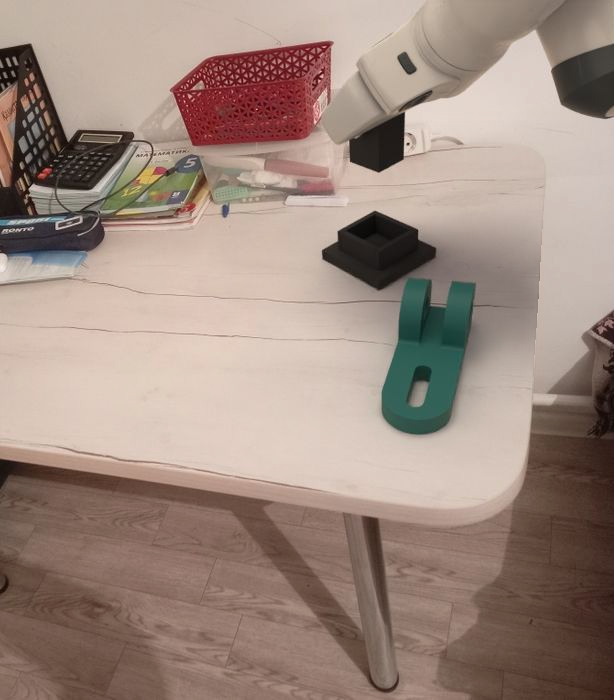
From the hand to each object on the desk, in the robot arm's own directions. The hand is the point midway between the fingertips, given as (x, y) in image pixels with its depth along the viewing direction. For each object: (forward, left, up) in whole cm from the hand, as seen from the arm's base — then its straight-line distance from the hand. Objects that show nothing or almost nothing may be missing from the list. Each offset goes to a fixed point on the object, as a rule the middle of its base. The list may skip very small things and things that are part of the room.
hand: (372, 122), depth 74 cm
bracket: (-8, +22, -20) cm, 31 cm away
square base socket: (0, 0, -19) cm, 19 cm away
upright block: (0, 0, -5) cm, 5 cm away
